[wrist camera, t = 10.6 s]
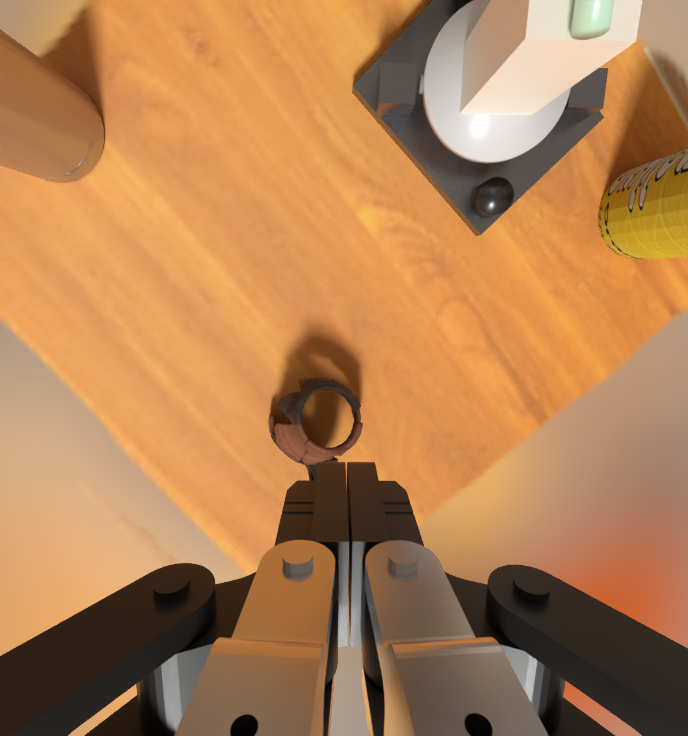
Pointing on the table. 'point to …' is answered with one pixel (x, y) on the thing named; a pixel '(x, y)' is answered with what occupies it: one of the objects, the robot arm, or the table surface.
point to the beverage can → (648, 210)
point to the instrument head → (516, 69)
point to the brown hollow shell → (293, 434)
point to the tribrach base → (436, 162)
